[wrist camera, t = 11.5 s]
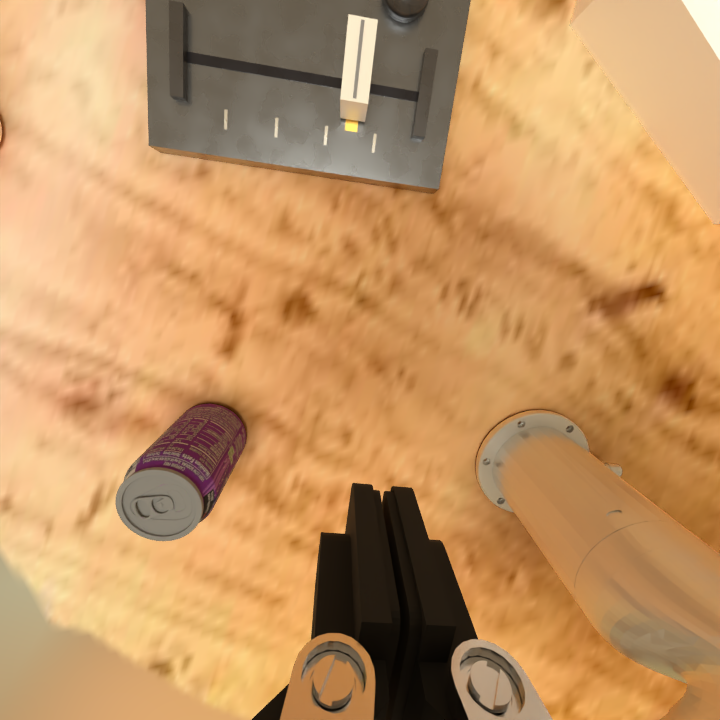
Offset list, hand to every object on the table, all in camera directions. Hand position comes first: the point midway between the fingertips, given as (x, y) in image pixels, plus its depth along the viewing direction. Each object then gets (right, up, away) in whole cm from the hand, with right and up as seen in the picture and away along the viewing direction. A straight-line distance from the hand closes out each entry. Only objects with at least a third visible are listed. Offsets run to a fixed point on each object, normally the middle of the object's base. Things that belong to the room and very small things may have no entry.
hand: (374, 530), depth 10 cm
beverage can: (-16, -3, +28) cm, 33 cm away
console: (-5, +29, +20) cm, 35 cm away
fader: (-1, +26, +18) cm, 32 cm away
